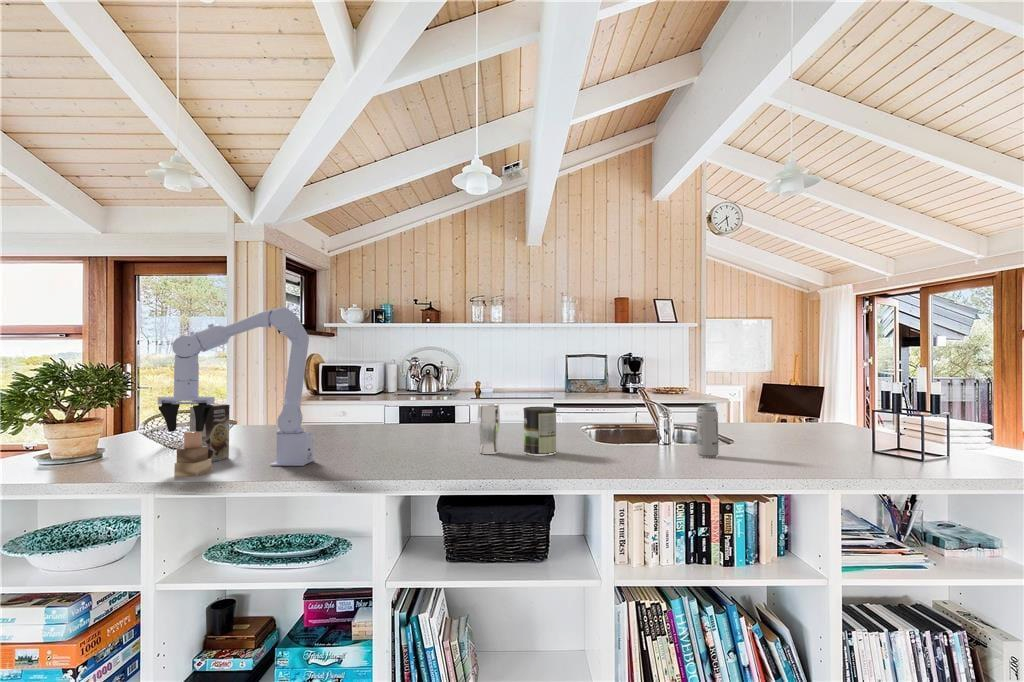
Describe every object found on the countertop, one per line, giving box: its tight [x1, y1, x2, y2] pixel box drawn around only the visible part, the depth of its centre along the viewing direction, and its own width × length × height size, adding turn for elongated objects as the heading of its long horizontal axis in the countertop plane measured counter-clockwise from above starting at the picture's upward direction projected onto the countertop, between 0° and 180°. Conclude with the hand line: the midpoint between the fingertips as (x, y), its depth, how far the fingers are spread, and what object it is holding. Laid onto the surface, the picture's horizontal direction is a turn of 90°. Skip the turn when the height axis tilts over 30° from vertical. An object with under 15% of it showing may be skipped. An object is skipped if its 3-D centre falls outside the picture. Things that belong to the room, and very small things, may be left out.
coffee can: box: [522, 406, 557, 454], centre depth 170 cm, size 10×10×14 cm
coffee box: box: [189, 404, 231, 463], centre depth 160 cm, size 9×6×16 cm
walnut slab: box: [176, 446, 208, 463], centre depth 142 cm, size 5×5×4 cm
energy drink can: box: [696, 405, 719, 458], centre depth 163 cm, size 6×6×15 cm
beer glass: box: [477, 403, 501, 453], centre depth 171 cm, size 7×7×15 cm
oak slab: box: [173, 459, 212, 477], centre depth 142 cm, size 6×6×4 cm
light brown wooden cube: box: [183, 430, 202, 449], centre depth 142 cm, size 4×4×4 cm
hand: (185, 431), depth 146 cm, fingers open, 7 cm apart
